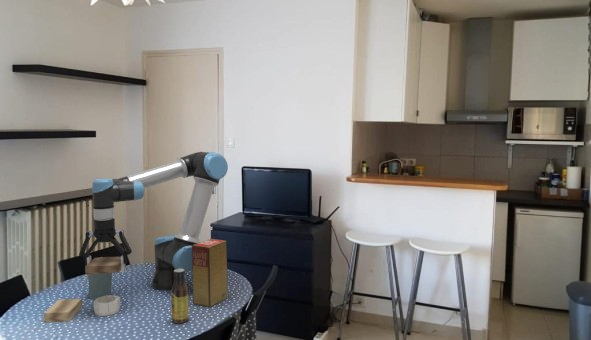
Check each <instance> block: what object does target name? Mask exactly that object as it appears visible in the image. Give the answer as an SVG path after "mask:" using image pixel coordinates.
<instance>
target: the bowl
mask: <svg viewBox="0 0 591 340" xmlns="http://www.w3.org/2000/svg"><path fill="white" fill-rule="evenodd" d="M120 308H121V297H120V296H117V295H115V294H111V295H107V296H102V297H99V298H96V299H94V300H93V312H94V315H95V316H97V317H109V316H113V315H116V314H117V313H119V312H120Z"/></svg>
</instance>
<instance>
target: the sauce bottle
mask: <svg viewBox="0 0 591 340" xmlns="http://www.w3.org/2000/svg"><path fill="white" fill-rule="evenodd" d="M185 274H186V272H185V270H184V269H176V270H174V284H173V287H172V289H171V290H170V297H171V298H170V300H171V303H170V304H171V320H172V322H173V323H174V324H183V323H186V322H187V321H188V320H189V313H190V311H189V288H188V287H189V286H188V284H187V283H186V278H185V279H184V277H185Z"/></svg>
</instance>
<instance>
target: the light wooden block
mask: <svg viewBox="0 0 591 340" xmlns="http://www.w3.org/2000/svg"><path fill="white" fill-rule="evenodd" d="M82 308H83V298H69V299H68V298H65V299H64V298H63V299H62V298H61V299H57V301H56V302H54V303H53V304H52V305H51V306H50V307H49V308H47V309H46V310H45V311H44V312H43V323H57V322H58V323H59V322H60V323H61V322H71V320H72V319H73V318H74V317H75V315H77V313H78V312H79V311H80V310H81V309H82Z"/></svg>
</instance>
